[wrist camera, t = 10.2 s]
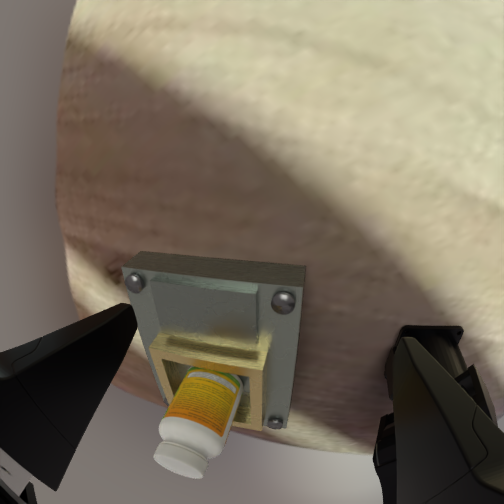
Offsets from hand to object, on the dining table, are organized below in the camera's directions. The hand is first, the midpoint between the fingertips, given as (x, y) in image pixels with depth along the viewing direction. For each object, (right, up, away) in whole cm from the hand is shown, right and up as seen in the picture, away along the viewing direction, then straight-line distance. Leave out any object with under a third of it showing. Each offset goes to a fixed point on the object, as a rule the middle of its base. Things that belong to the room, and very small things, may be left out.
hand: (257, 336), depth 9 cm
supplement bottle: (-3, -9, +16) cm, 19 cm away
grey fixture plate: (-3, -6, +18) cm, 19 cm away
